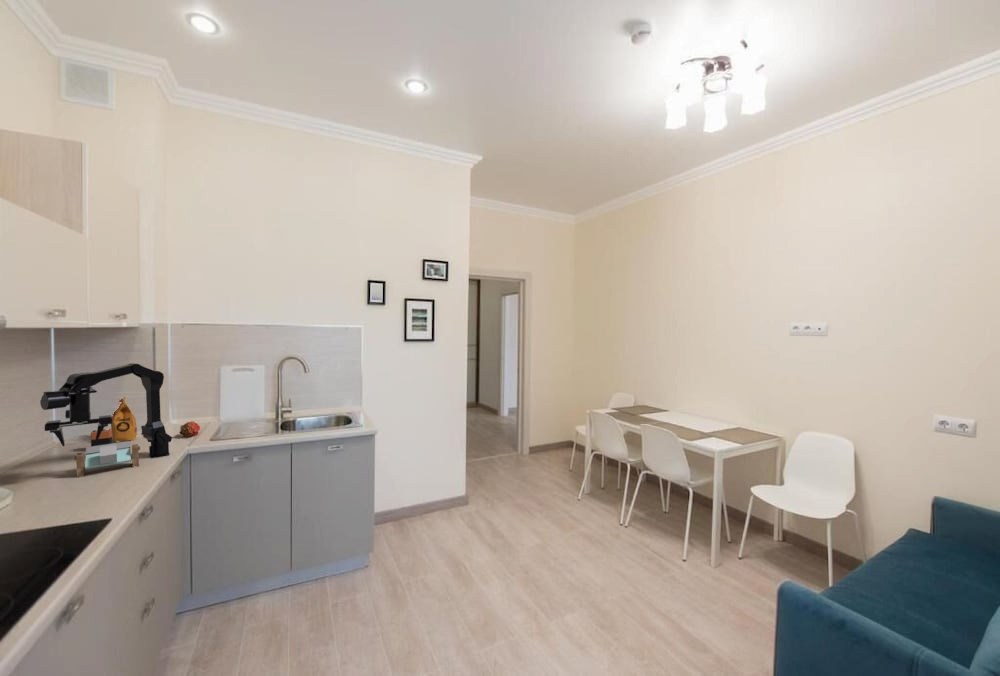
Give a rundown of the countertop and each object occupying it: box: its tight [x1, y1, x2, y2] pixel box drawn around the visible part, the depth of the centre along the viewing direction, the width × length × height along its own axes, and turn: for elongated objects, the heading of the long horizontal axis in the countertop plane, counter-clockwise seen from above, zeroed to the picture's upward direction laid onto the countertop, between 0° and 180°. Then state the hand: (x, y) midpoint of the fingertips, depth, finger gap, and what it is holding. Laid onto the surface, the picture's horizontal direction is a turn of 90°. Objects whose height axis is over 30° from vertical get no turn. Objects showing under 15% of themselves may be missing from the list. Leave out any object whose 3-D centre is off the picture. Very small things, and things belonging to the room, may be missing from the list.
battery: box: [90, 427, 113, 447], centre depth 197 cm, size 4×7×10 cm, turn 123°
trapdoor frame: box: [74, 443, 141, 478], centre depth 172 cm, size 20×5×8 cm, turn 133°
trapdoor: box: [85, 440, 132, 470], centre depth 173 cm, size 14×11×3 cm
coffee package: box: [110, 396, 138, 443], centre depth 213 cm, size 10×12×22 cm
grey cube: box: [100, 445, 117, 465], centre depth 170 cm, size 5×5×5 cm
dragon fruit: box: [178, 420, 201, 438], centre depth 221 cm, size 8×8×12 cm
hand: (80, 443), depth 164 cm, fingers open, 9 cm apart
